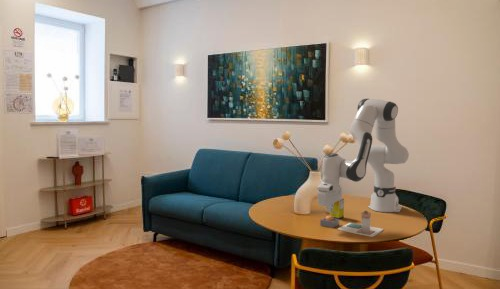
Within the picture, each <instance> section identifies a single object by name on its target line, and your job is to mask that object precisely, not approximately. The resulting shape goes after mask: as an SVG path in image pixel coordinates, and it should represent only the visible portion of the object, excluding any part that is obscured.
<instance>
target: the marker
mask: <svg viewBox="0 0 500 289" xmlns="http://www.w3.org/2000/svg"><path fill="white" fill-rule="evenodd" d="M361 225H362V232H370V227H371V212H369V211H368V210H364V211H362V212H361Z"/></svg>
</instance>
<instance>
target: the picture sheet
mask: <svg viewBox="0 0 500 289" xmlns="http://www.w3.org/2000/svg"><path fill="white" fill-rule="evenodd" d="M337 231H341V232H346V233H350V234H357V235H360V236H366V237H371V238H373V237H375V236H376V235H378V234H380V233H381V232H383V231H384V228H380V227H374V226H370V232H362V224H359V223H353V222H348V223H346V224H344V225H342V226H340V227H338V228H337Z"/></svg>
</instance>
